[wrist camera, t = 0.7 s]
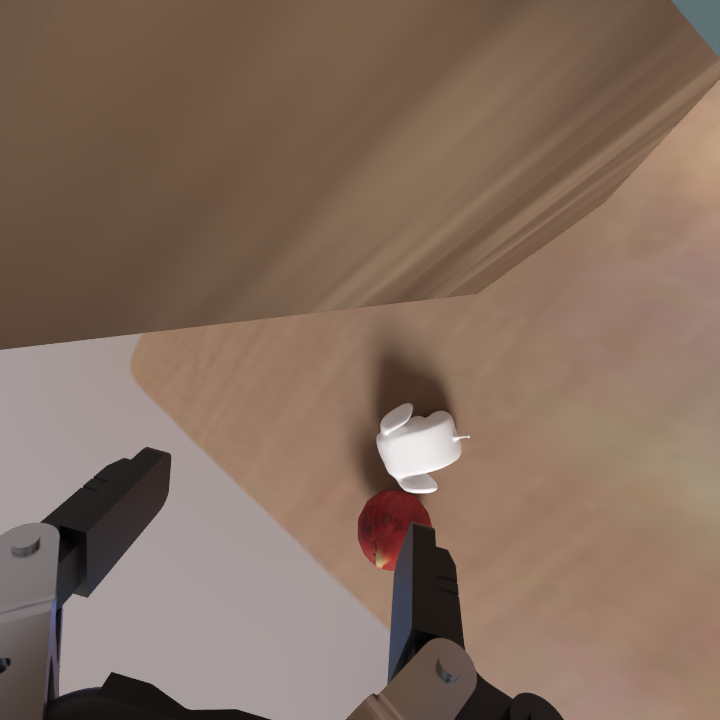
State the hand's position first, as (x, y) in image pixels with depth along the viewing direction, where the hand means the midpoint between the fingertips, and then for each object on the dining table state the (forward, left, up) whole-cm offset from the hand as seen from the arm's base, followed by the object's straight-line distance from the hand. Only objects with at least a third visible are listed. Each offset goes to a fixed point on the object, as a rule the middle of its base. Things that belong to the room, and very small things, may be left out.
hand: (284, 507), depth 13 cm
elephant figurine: (+5, 0, -23) cm, 23 cm away
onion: (+12, -2, -23) cm, 26 cm away
